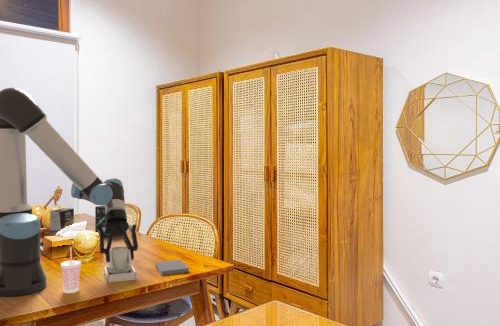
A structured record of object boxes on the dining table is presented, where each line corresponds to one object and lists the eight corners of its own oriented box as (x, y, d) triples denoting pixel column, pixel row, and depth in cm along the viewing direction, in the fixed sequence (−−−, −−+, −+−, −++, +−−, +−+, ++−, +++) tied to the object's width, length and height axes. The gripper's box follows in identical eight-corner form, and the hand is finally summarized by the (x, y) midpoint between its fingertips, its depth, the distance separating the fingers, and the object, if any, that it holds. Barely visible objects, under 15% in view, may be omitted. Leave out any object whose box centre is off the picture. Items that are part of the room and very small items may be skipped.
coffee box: (62, 247, 189) (61, 211, 188) (49, 246, 190) (49, 210, 189) (74, 242, 197) (74, 208, 197) (62, 241, 199) (62, 207, 198)
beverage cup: (58, 294, 131) (58, 250, 130) (63, 287, 137) (62, 245, 136) (79, 293, 132) (79, 249, 131) (83, 286, 138) (82, 244, 137)
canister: (112, 279, 146) (112, 251, 145) (110, 274, 151) (110, 247, 150) (129, 277, 148) (129, 249, 147) (126, 273, 153) (126, 246, 152)
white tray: (107, 282, 142) (107, 275, 142) (104, 273, 152) (104, 266, 152) (136, 279, 146) (136, 272, 146) (131, 270, 156) (131, 263, 156)
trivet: (161, 275, 151) (161, 271, 151) (155, 266, 162) (155, 262, 162) (188, 272, 155) (188, 268, 155) (180, 263, 166) (180, 259, 166)
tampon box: (123, 234, 216) (123, 206, 216) (109, 237, 208) (109, 208, 208) (109, 231, 222) (109, 204, 221) (94, 234, 214) (94, 206, 214)
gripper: (139, 218, 166) (146, 271, 152) (89, 221, 159) (92, 277, 144) (141, 206, 161) (149, 260, 147) (90, 209, 154) (93, 266, 139)
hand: (121, 268), depth 146 cm, fingers closed on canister, 6 cm apart
